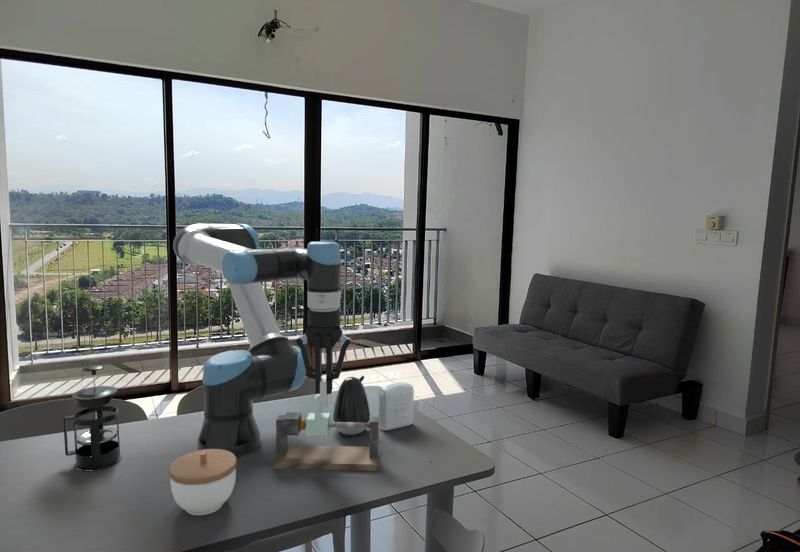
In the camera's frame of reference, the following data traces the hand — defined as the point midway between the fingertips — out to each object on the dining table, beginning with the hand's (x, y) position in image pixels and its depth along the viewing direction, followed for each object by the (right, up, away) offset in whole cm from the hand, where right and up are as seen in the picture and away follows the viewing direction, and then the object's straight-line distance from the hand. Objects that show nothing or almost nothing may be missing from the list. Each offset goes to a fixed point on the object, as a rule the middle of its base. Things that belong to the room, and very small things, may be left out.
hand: (323, 406), depth 123 cm
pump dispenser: (+5, -12, +19) cm, 22 cm away
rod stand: (+1, -13, +2) cm, 13 cm away
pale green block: (-1, -6, +1) cm, 7 cm away
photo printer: (+17, -11, +22) cm, 30 cm away
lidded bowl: (-21, -16, -18) cm, 32 cm away
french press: (-53, -13, -1) cm, 55 cm away
